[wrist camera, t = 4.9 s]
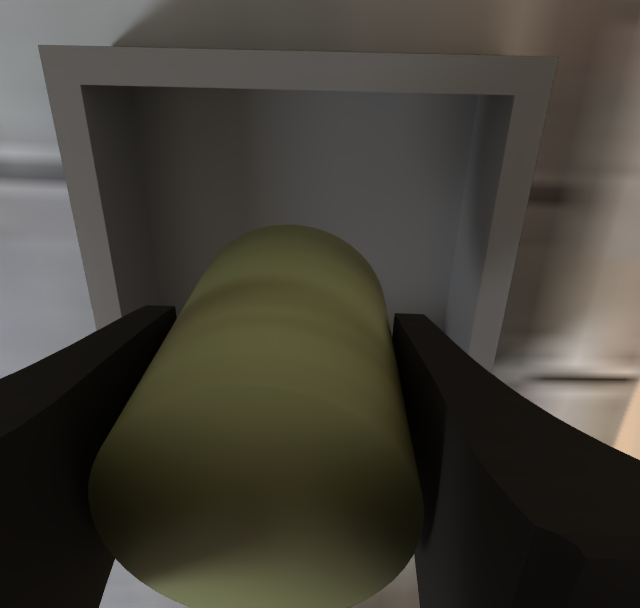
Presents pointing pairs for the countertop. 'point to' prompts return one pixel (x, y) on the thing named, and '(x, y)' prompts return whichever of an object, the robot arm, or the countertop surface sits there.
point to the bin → (302, 168)
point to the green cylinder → (267, 437)
